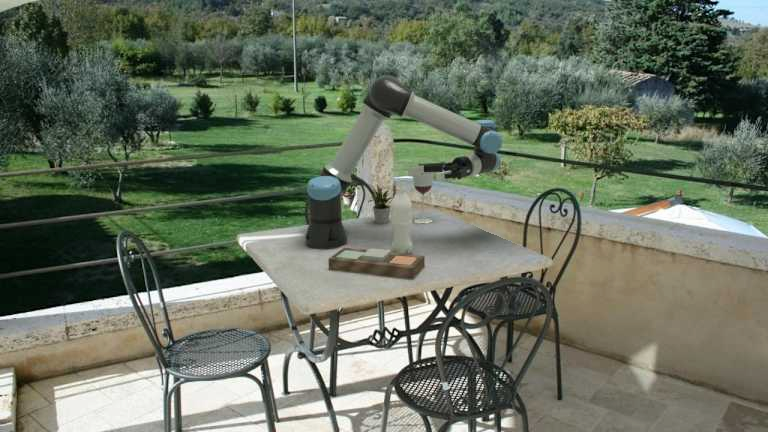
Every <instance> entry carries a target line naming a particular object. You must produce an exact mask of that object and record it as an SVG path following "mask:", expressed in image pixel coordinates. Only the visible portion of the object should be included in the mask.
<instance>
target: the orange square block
mask: <svg viewBox="0 0 768 432" xmlns="http://www.w3.org/2000/svg"><path fill="white" fill-rule="evenodd" d="M417 259H418V258H416V257H406V256H397V255H396V256H395V257H394V258H393V259H392V260H391V261H390V262H389V263H393V264H403V265H412V264H413V263H414V262H415V261H416V260H417Z"/></svg>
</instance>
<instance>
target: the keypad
mask: <svg viewBox="0 0 768 432" xmlns="http://www.w3.org/2000/svg"><path fill="white" fill-rule="evenodd" d="M345 250H348V251H358V252H366V251H368V250H369V249H361V248H351V247H342V248H341V249H340V250H338V251H337V252H336V253H334V254H333V255H331V256H330V257H329V258H328V259H327V261H328V270H331V271H332V270H333V271H334V270H335V271H341V272H347V273H348V272H350V273H358V274H368V275H376V276H384V277H391V278H393V277H394V278H401V279H410V280H414V279H415V277H416V276H417V275H418V274H419V273H420V272H421V270H423V268H424V267H425V266H426V265H425V264H426V263H425V258H426V257H425V255H421V254H420V255H419V254H413V253H412V254H411V253H410V254H406V253H405V254H402V253H393V251H391V256H390V257H389V258H388V259H387V260H386V261H385V262H375V261H366V260H362V256H361V257H360V258H358V259H357V260H356V259H347V258H338V257H336V256H338V255H339V254H341V253H342V252H343V251H345ZM396 255H397V256H406V257H416V258H418V259H417V260H416V261H415V262H414V263H413V264H412V265H403V264H393V263H389V262H390V261H391V260H392V259H393V258H394V257H395V256H396Z"/></svg>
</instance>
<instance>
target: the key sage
mask: <svg viewBox="0 0 768 432" xmlns="http://www.w3.org/2000/svg"><path fill="white" fill-rule="evenodd" d="M364 253H365V252H358V251H348V250H345V251H343V252H342V253H341V254H339V255H338V256H336V257H338V258H347V259H356V260H357V259H358V258H360V257H361V256H362V255H363V254H364Z"/></svg>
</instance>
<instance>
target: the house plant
mask: <svg viewBox="0 0 768 432" xmlns="http://www.w3.org/2000/svg"><path fill="white" fill-rule="evenodd" d="M368 185H369V186H371V188H372V189H373V190H372V189H371V188H368V187H367V189H368V190H369V191H370V192H371V194H372V196H371V199H369V198H368V197H366V199H369V200H368V201H367V204H368V203H370V202H372V203H373V204H375V202H376V204H375V205H374V206H372V211H373V215H374V220H375V223H376V224H388V223H389V219H390V214H391V205H389V203H390V204H391V203H392V200H393V197H389V195H390V194H391V193H392V192H393V191H394V190H395V189H396V187H395V188H393V189H392V190H390V189H391V186H389V188H388V189H387V190H386V191H384V192H383V187H380V186H379V184H378V183H376V188H377V189H376V188H375V187H374V186H373V184H370V183H368ZM376 190H377V191H376ZM389 191H390V192H389ZM391 199H392V200H391ZM387 222H388V223H387Z"/></svg>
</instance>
